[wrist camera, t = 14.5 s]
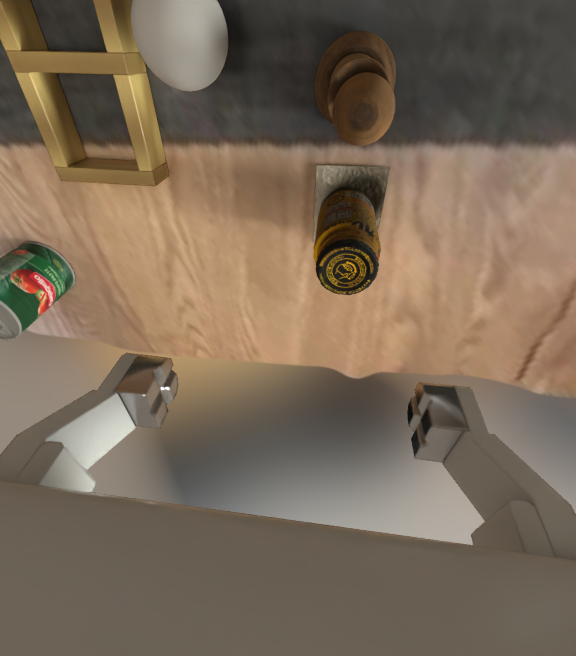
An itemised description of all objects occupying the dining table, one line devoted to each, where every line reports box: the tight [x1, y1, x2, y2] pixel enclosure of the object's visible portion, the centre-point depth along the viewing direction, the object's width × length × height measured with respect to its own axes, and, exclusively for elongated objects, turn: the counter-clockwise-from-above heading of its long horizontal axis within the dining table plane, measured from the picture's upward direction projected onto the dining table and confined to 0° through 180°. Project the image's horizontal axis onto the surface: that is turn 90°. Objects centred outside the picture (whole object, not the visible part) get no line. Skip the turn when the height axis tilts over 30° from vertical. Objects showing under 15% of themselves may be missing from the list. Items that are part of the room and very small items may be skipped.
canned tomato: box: [0, 242, 75, 340], centre depth 42 cm, size 8×8×11 cm
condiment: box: [313, 165, 390, 295], centre depth 31 cm, size 7×8×12 cm
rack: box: [0, 0, 169, 186], centre depth 29 cm, size 19×10×4 cm, turn 179°
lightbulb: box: [131, 0, 228, 91], centre depth 24 cm, size 6×6×11 cm
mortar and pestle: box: [315, 31, 396, 146], centre depth 22 cm, size 7×6×18 cm
